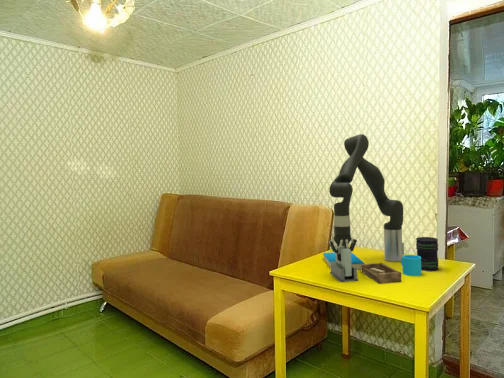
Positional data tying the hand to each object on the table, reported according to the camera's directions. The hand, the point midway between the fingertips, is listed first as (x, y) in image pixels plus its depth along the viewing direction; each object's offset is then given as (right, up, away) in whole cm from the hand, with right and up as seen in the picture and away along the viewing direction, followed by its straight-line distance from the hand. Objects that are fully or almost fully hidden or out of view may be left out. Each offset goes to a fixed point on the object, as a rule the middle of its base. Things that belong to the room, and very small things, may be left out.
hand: (343, 260), depth 168 cm
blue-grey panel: (0, -6, 0) cm, 6 cm away
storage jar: (+44, -6, +9) cm, 46 cm away
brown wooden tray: (+17, -7, -2) cm, 19 cm away
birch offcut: (+15, -6, -2) cm, 17 cm away
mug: (+33, -7, +3) cm, 34 cm away
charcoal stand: (0, -8, 0) cm, 8 cm away
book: (+6, -7, +24) cm, 26 cm away
